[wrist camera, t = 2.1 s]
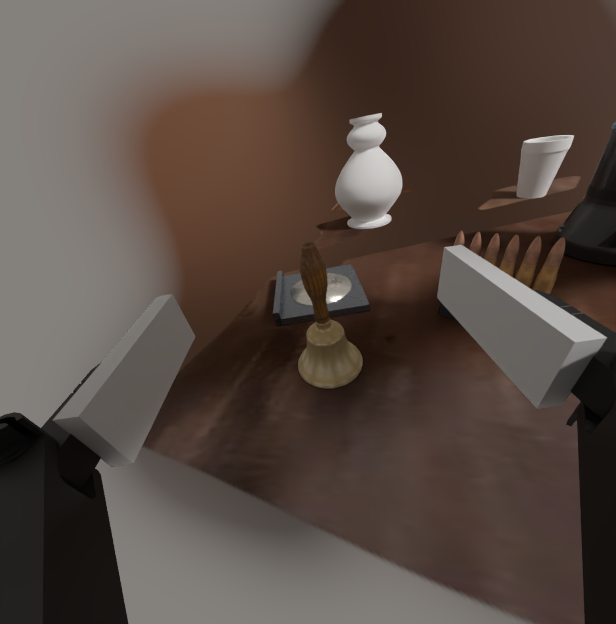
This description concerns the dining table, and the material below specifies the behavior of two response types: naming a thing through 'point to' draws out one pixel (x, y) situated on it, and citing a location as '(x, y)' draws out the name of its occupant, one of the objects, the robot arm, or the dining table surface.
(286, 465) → the dining table surface
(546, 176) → the foam cup
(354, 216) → the decorative vase
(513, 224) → the dining table surface
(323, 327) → the hand bell
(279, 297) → the plate
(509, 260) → the ammunition clip
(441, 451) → the dining table surface
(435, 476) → the dining table surface
